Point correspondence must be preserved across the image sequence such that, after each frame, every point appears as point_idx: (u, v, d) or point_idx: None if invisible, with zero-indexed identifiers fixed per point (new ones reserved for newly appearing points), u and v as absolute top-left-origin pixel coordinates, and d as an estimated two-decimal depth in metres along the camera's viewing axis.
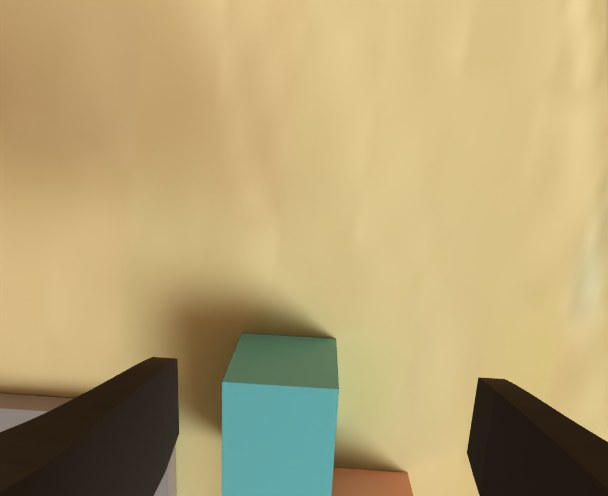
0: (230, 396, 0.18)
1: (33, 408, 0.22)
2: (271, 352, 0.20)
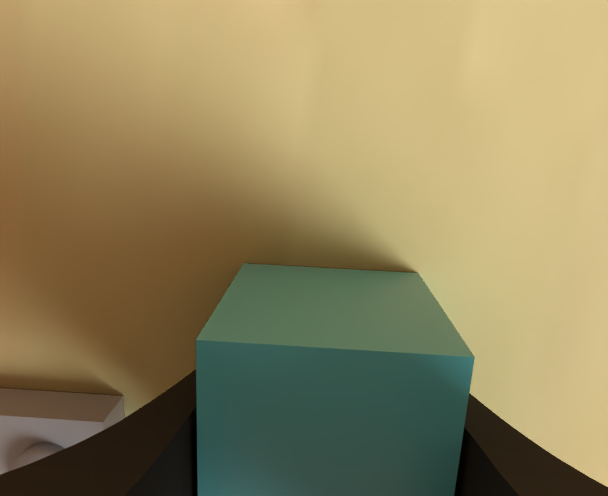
0: (216, 374, 0.07)
1: None
2: (303, 291, 0.10)
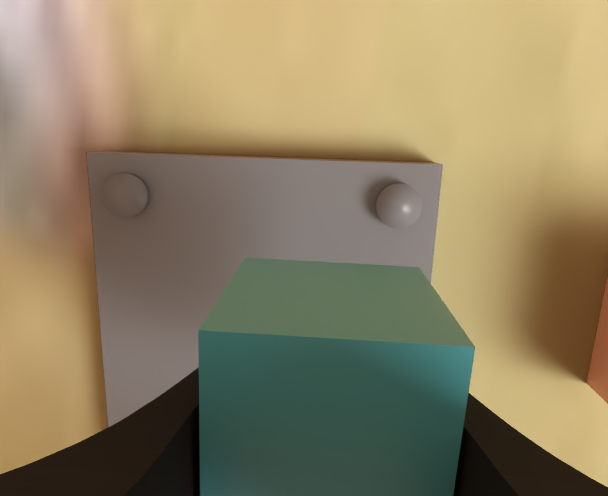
0: (218, 364, 0.08)
1: (265, 158, 0.17)
2: (304, 284, 0.10)
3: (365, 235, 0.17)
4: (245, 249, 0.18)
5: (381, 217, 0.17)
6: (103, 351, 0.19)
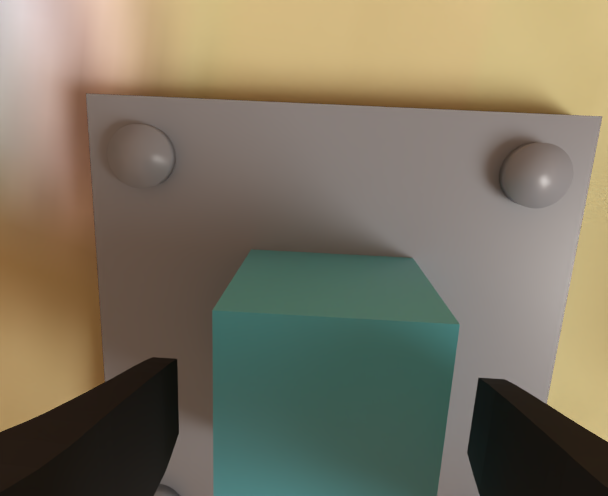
0: (230, 341, 0.08)
1: (343, 105, 0.12)
2: (307, 272, 0.11)
3: (481, 218, 0.12)
4: (309, 236, 0.12)
5: (512, 191, 0.11)
6: (106, 375, 0.14)
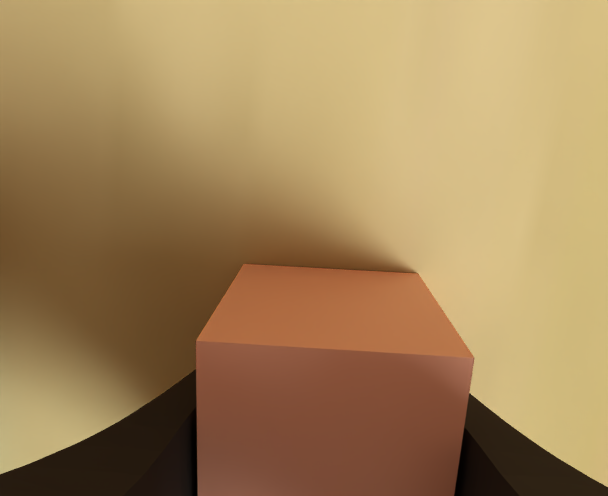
0: None
1: None
2: None
3: None
4: None
5: None
6: None
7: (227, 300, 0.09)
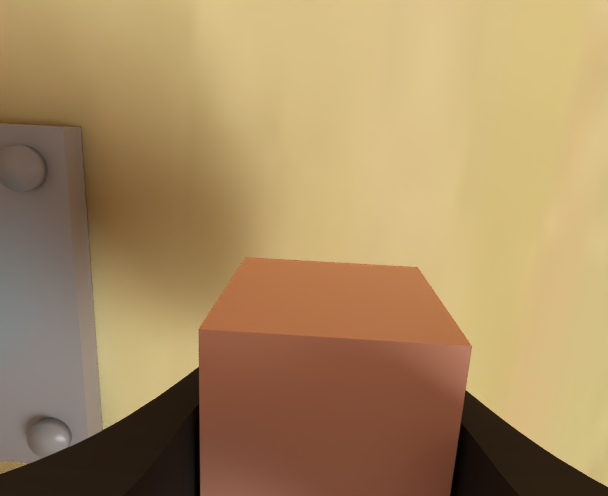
0: None
1: None
2: None
3: None
4: None
5: (0, 180, 0.16)
6: None
7: (229, 291, 0.09)
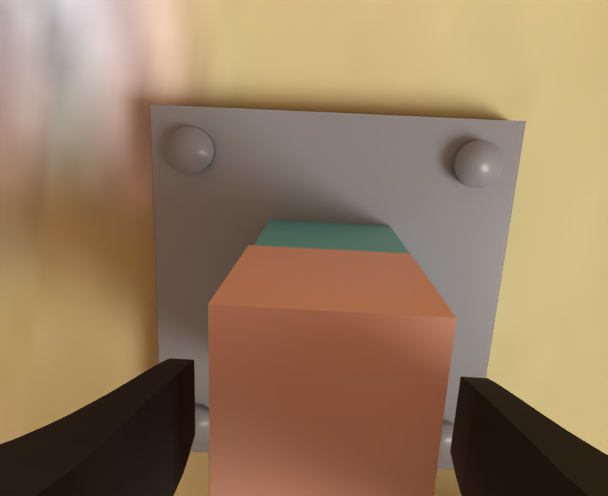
0: None
1: None
2: (311, 232, 0.15)
3: (440, 196, 0.17)
4: (313, 209, 0.17)
5: (460, 175, 0.16)
6: (158, 317, 0.18)
7: (234, 273, 0.10)
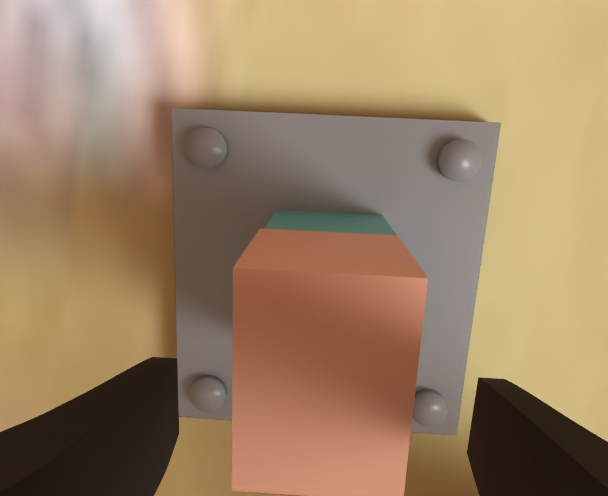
0: None
1: (336, 115, 0.18)
2: (313, 219, 0.17)
3: (426, 188, 0.19)
4: (314, 201, 0.19)
5: (443, 170, 0.18)
6: (177, 297, 0.20)
7: (251, 248, 0.12)
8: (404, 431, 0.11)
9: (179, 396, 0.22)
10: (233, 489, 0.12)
